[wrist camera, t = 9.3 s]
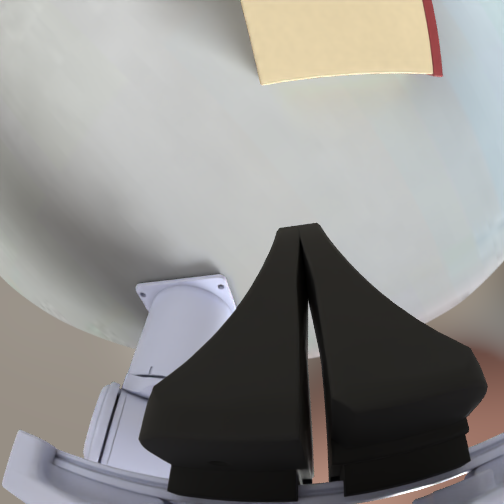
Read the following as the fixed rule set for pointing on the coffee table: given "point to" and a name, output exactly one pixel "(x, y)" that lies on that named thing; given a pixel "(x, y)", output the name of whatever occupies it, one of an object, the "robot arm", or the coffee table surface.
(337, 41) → the book
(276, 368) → the robot arm
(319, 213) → the coffee table surface
